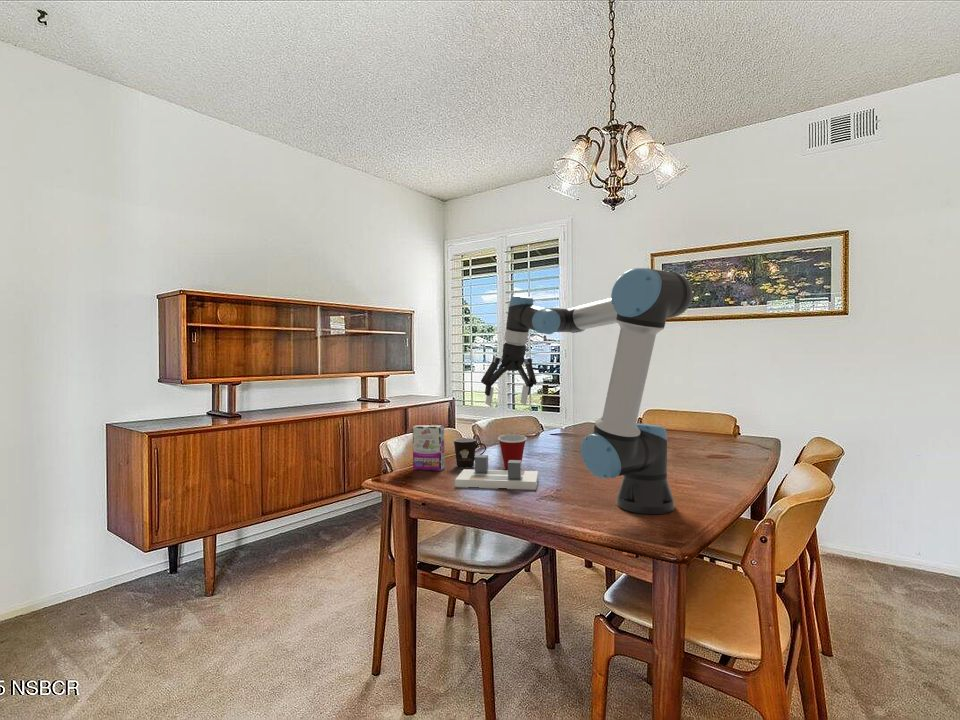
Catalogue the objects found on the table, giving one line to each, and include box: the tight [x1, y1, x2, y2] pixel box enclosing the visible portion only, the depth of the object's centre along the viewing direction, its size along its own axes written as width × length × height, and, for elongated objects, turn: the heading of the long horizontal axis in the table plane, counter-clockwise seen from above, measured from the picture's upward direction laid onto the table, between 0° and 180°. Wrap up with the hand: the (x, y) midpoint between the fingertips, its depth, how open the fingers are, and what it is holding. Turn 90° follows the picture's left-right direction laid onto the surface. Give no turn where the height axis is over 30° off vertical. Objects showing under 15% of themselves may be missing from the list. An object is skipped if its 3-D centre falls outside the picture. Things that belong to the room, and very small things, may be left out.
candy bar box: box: [411, 424, 446, 472], centre depth 186 cm, size 11×5×16 cm, turn 76°
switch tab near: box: [508, 460, 522, 479], centre depth 161 cm, size 4×4×5 cm
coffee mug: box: [453, 437, 487, 468], centre depth 190 cm, size 12×9×10 cm
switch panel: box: [454, 468, 539, 491], centre depth 166 cm, size 14×26×3 cm, turn 81°
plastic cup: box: [497, 434, 528, 470], centre depth 185 cm, size 11×11×12 cm
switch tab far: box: [474, 454, 489, 472], centre depth 170 cm, size 4×4×5 cm
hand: (506, 404), depth 168 cm, fingers open, 13 cm apart
